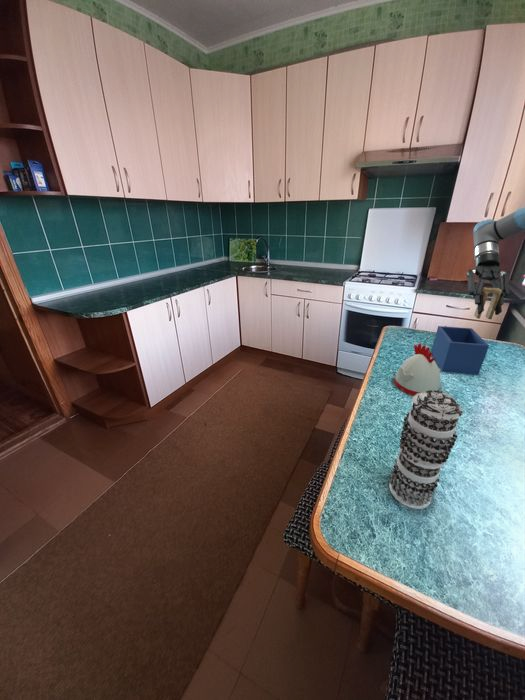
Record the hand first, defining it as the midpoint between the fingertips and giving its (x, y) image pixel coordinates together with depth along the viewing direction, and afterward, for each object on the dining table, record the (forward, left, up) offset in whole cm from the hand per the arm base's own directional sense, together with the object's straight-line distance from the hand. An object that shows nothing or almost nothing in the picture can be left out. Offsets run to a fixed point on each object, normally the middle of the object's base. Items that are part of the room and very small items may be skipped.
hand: (489, 312), depth 104 cm
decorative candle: (-41, +63, -21) cm, 78 cm away
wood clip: (+3, -2, -3) cm, 5 cm away
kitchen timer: (-7, +32, -21) cm, 39 cm away
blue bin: (+2, +7, -20) cm, 22 cm away
